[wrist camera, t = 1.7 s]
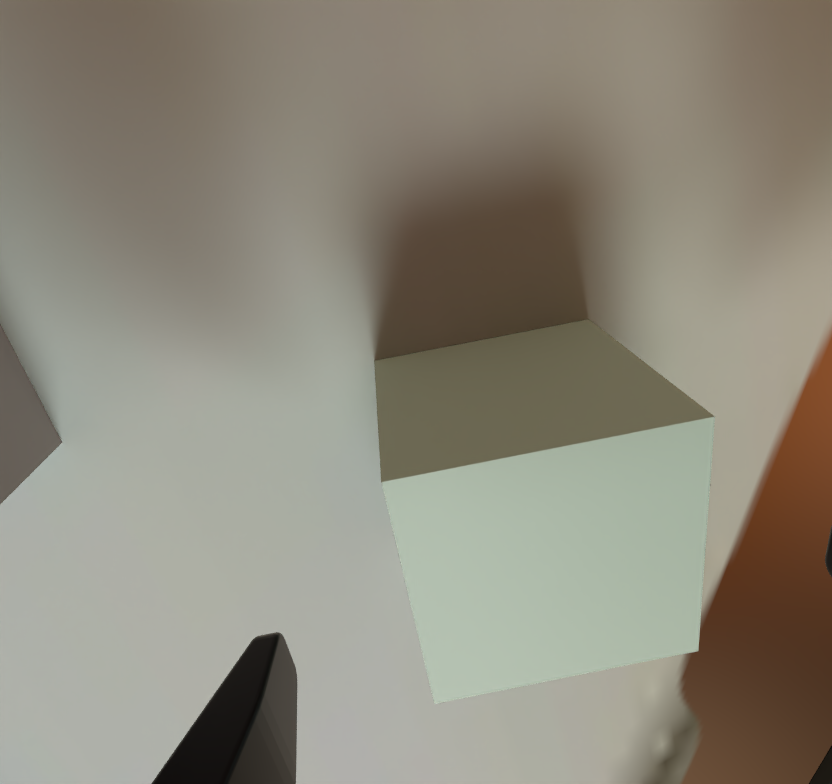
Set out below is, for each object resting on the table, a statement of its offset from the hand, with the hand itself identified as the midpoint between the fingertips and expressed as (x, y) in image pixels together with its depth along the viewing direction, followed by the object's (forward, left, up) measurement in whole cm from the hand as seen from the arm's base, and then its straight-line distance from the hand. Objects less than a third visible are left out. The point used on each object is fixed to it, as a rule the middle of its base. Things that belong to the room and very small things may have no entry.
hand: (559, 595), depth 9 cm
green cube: (0, 0, -5) cm, 5 cm away
